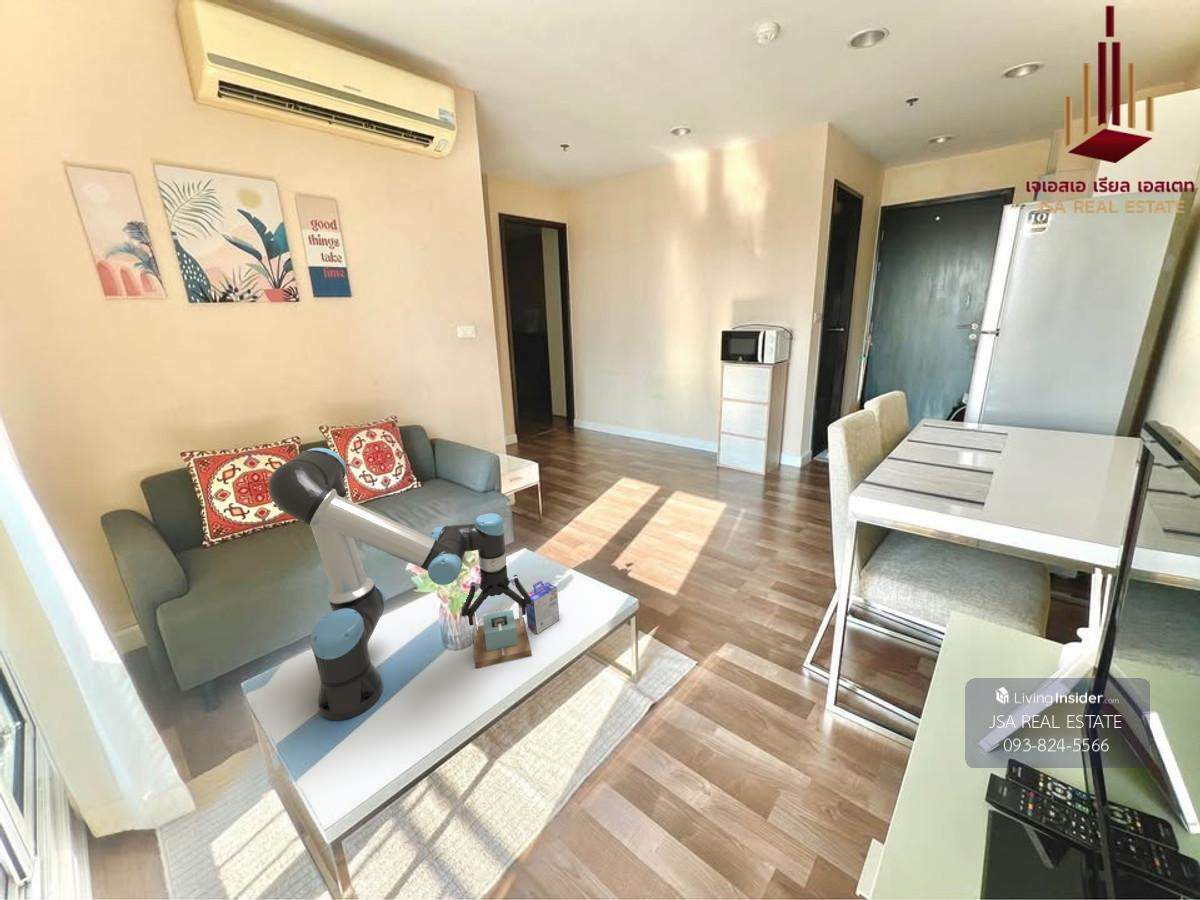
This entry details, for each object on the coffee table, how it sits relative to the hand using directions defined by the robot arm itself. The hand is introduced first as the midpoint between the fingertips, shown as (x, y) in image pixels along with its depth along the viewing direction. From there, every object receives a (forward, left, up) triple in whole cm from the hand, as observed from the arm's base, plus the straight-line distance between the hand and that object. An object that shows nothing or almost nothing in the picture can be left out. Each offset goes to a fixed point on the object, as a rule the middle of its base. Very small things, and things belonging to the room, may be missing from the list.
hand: (498, 628), depth 140 cm
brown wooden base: (0, 0, -6) cm, 6 cm away
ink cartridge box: (+14, +5, -6) cm, 16 cm away
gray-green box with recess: (0, 0, -4) cm, 4 cm away
